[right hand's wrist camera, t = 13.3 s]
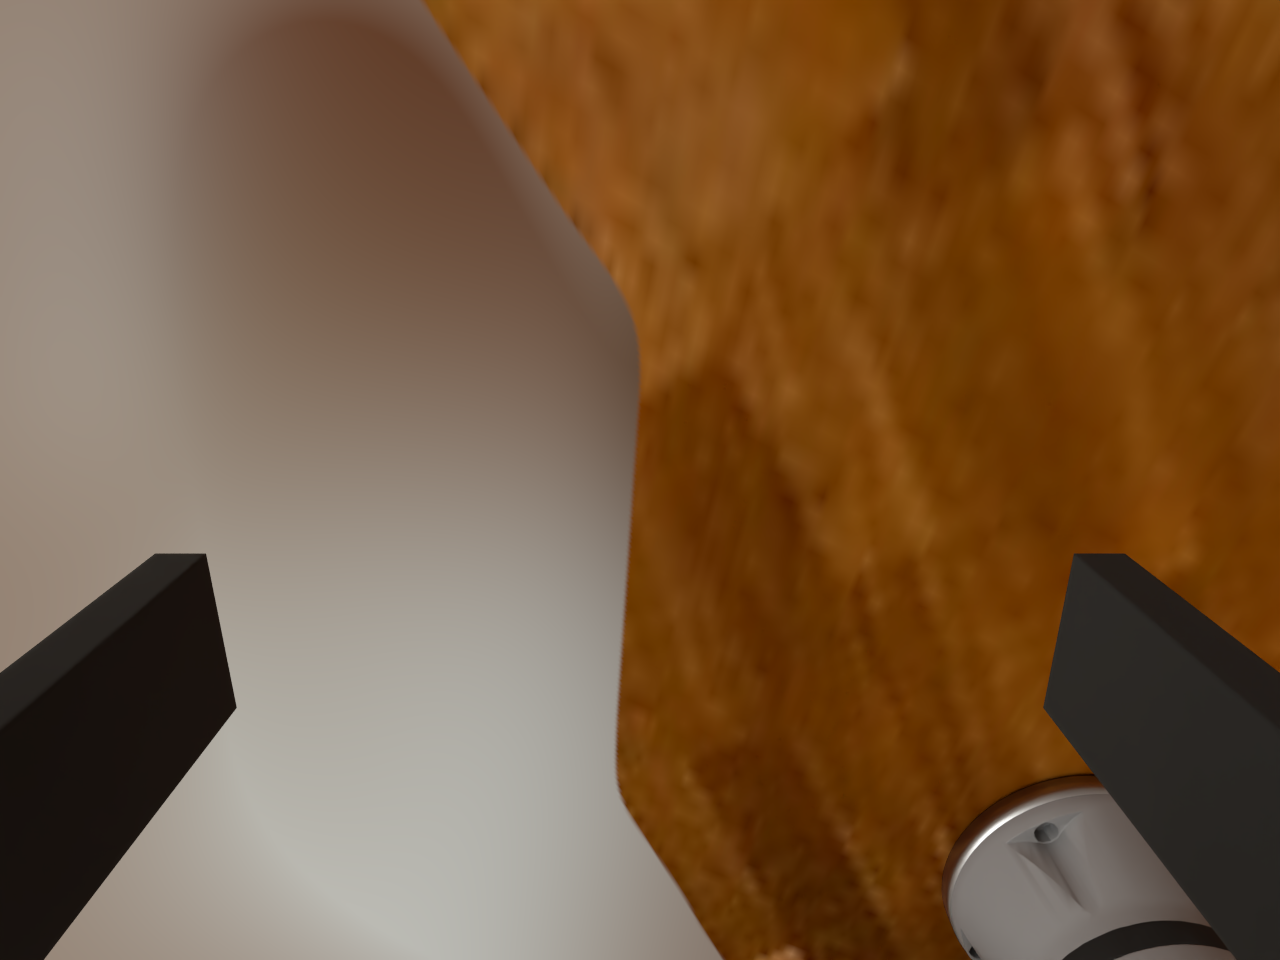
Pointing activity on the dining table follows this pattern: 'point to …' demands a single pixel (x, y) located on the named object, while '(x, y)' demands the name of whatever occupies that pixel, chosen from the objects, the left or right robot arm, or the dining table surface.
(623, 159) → the dining table surface
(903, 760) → the dining table surface
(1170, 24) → the dining table surface
